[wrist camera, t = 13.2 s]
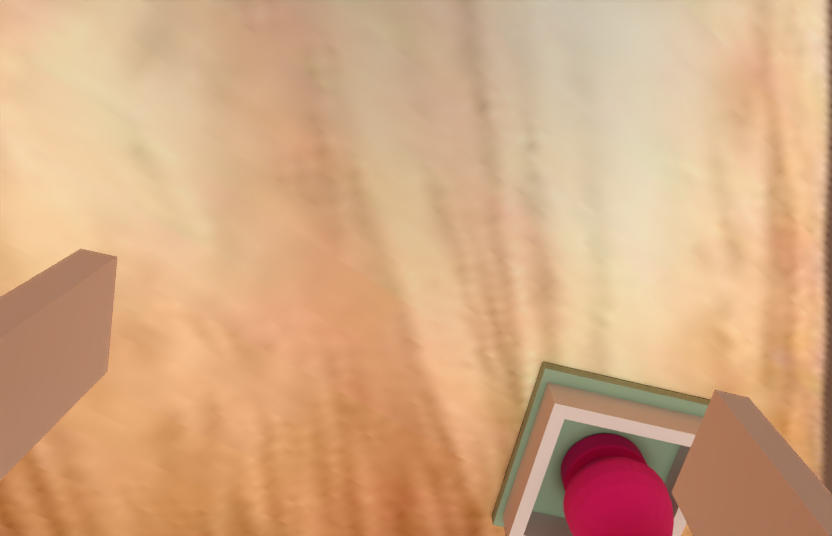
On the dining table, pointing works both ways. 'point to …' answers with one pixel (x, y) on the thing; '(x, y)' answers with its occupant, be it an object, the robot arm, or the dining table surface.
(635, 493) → the pepper mill
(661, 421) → the deck socket
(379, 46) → the dining table surface
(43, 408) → the robot arm
